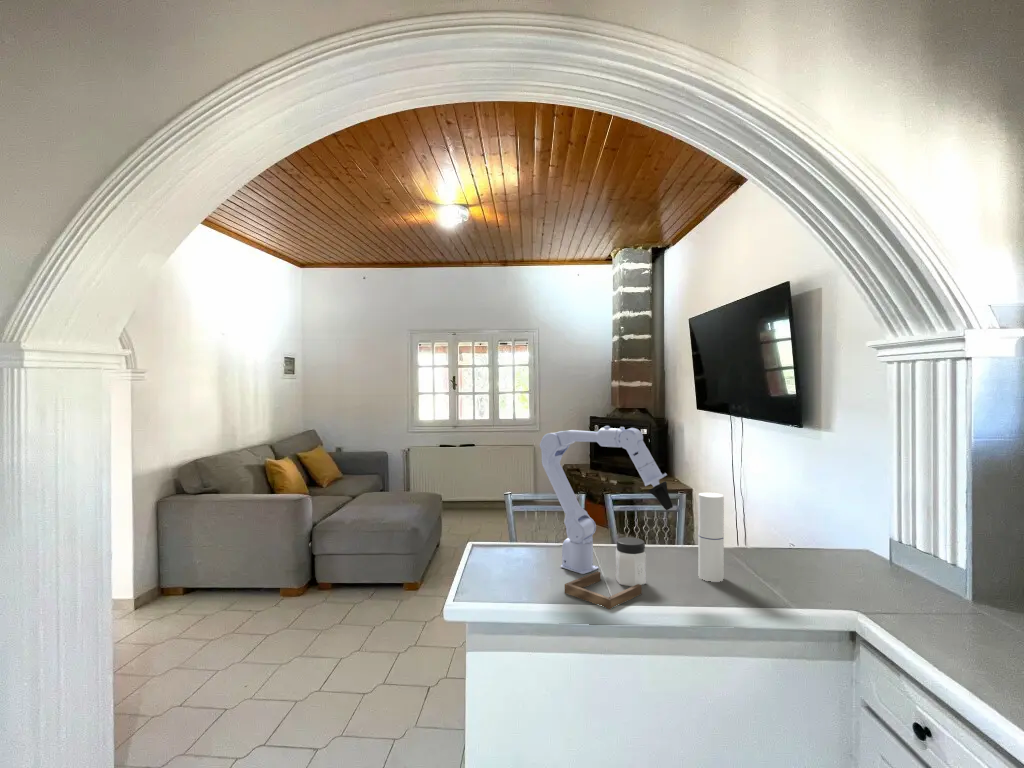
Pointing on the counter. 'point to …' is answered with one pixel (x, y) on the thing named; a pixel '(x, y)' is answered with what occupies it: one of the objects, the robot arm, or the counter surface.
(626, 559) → the jar
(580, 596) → the bay
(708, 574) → the cylindrical container
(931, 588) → the counter surface
